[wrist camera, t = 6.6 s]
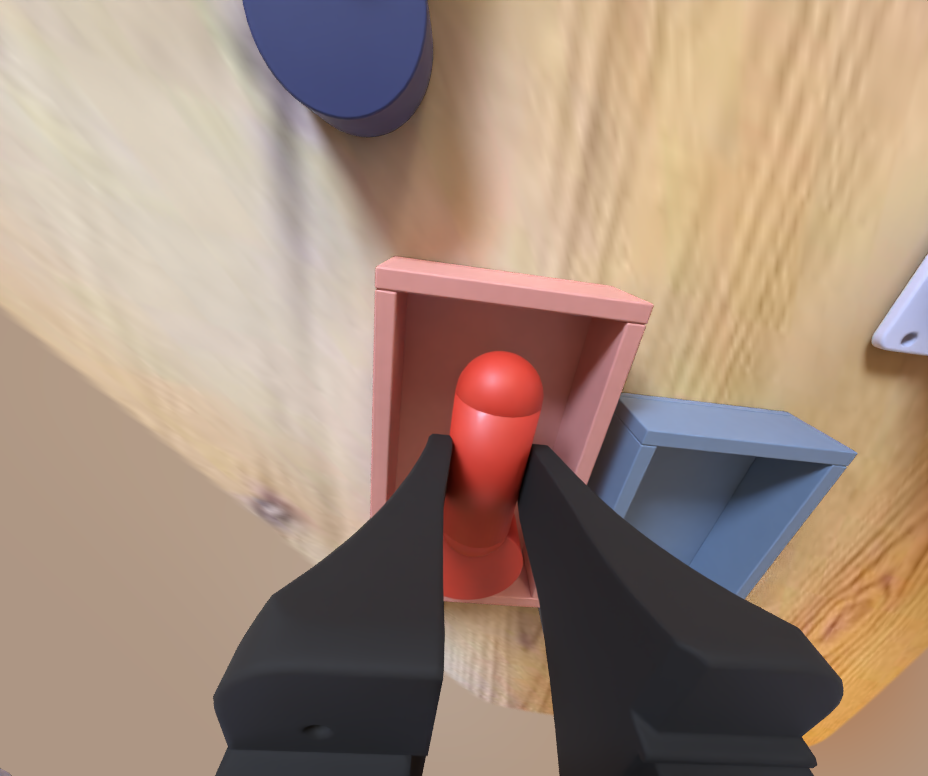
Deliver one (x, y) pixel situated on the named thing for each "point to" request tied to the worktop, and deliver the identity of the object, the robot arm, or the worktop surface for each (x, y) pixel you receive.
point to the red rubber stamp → (488, 473)
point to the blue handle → (348, 57)
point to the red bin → (486, 330)
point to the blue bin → (715, 481)
